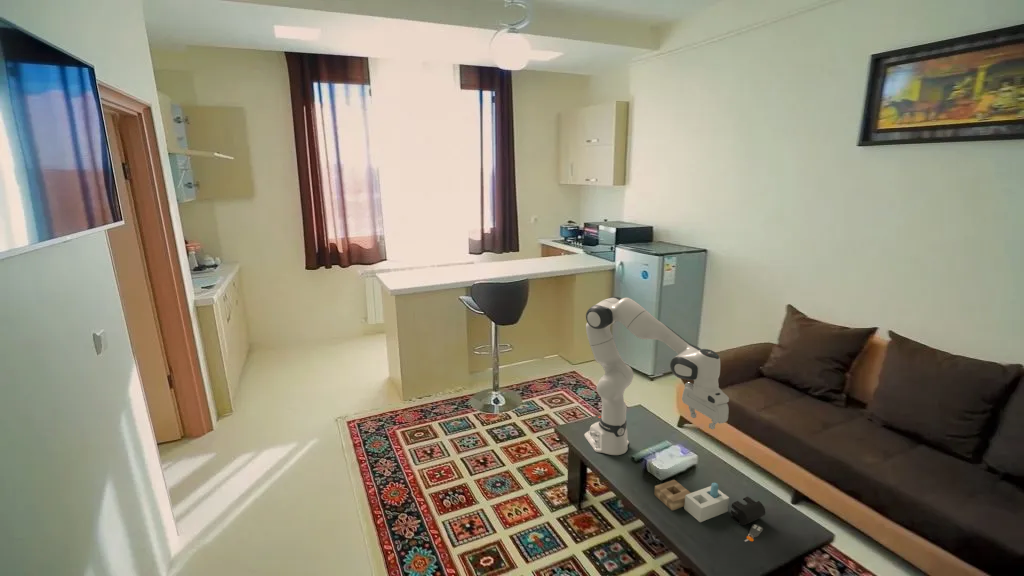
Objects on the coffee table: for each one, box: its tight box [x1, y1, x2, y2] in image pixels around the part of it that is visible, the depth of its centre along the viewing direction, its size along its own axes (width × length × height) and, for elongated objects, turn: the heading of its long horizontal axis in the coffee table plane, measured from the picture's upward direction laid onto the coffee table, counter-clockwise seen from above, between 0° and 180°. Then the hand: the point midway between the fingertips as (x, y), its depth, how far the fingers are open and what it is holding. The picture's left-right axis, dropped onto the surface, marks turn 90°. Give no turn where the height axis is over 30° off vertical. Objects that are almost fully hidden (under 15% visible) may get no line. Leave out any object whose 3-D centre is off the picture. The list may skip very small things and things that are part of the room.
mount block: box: [653, 479, 691, 511], centre depth 182 cm, size 10×10×4 cm
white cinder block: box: [683, 485, 730, 523], centre depth 176 cm, size 8×14×6 cm, turn 114°
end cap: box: [730, 496, 766, 526], centre depth 171 cm, size 10×7×7 cm
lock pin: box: [710, 482, 719, 499], centre depth 177 cm, size 2×2×10 cm
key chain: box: [744, 523, 764, 543], centre depth 163 cm, size 13×4×2 cm, turn 135°
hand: (702, 422), depth 183 cm, fingers open, 8 cm apart
